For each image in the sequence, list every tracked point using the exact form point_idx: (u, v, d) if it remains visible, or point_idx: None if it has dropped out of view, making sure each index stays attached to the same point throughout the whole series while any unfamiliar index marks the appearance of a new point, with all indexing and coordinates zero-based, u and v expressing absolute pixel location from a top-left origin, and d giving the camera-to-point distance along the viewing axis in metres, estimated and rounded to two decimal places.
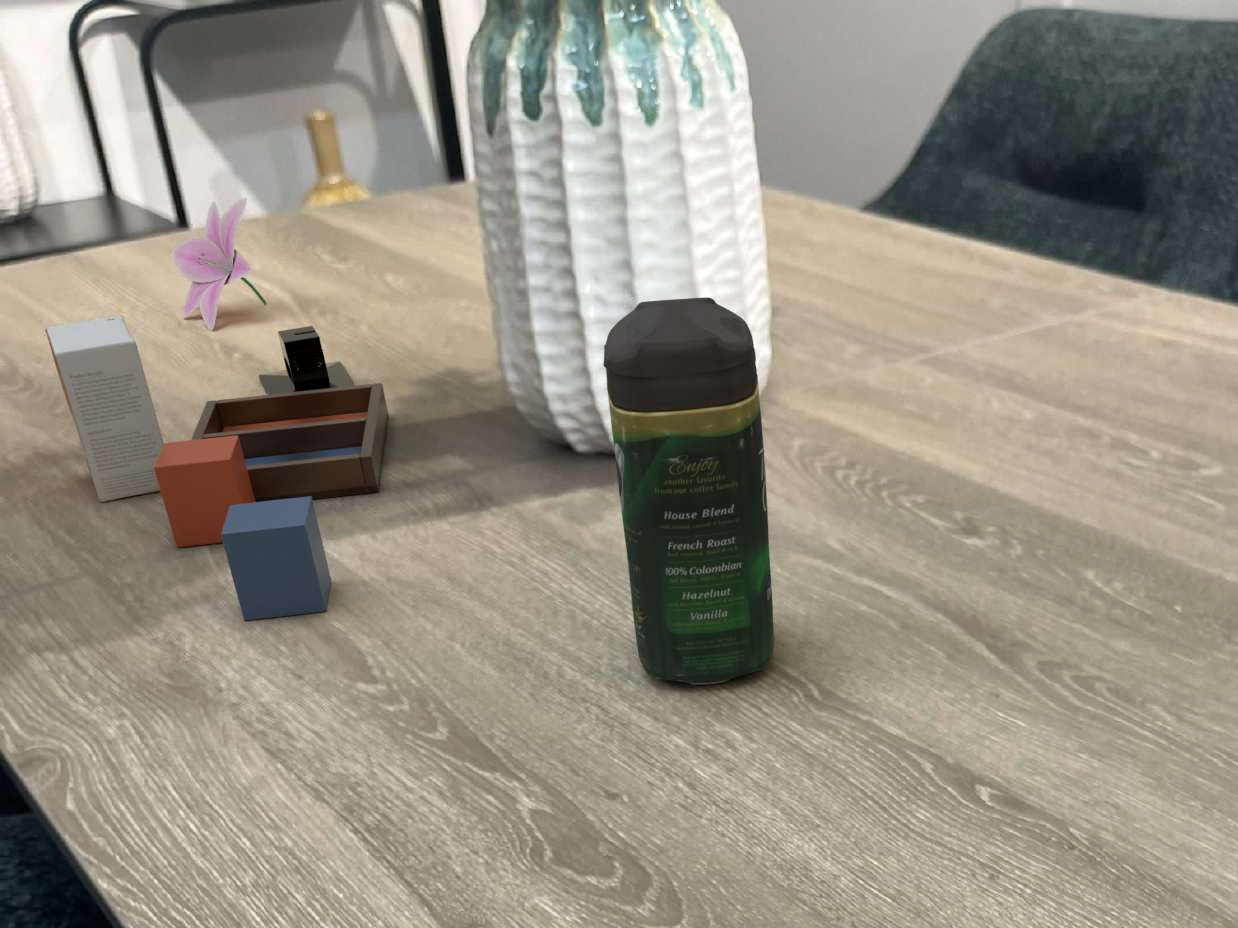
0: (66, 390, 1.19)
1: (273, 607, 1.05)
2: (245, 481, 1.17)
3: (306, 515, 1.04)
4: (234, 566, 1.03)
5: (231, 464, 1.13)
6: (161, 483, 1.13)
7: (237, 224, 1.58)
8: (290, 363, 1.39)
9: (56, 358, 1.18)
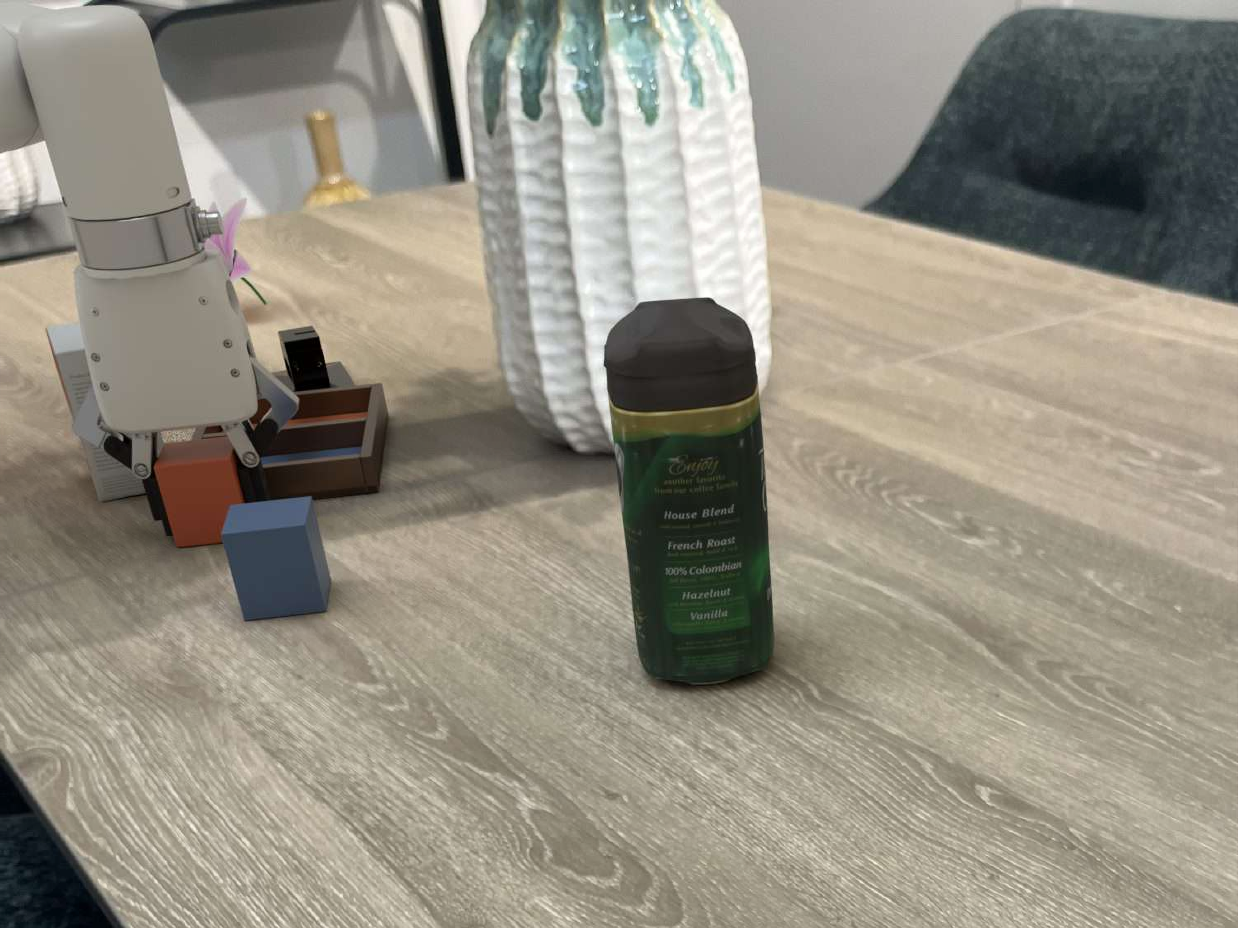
0: (66, 390, 1.19)
1: (273, 607, 1.05)
2: None
3: (306, 515, 1.04)
4: (234, 566, 1.03)
5: (231, 464, 1.13)
6: (161, 483, 1.13)
7: (237, 224, 1.58)
8: (290, 363, 1.39)
9: (56, 358, 1.18)
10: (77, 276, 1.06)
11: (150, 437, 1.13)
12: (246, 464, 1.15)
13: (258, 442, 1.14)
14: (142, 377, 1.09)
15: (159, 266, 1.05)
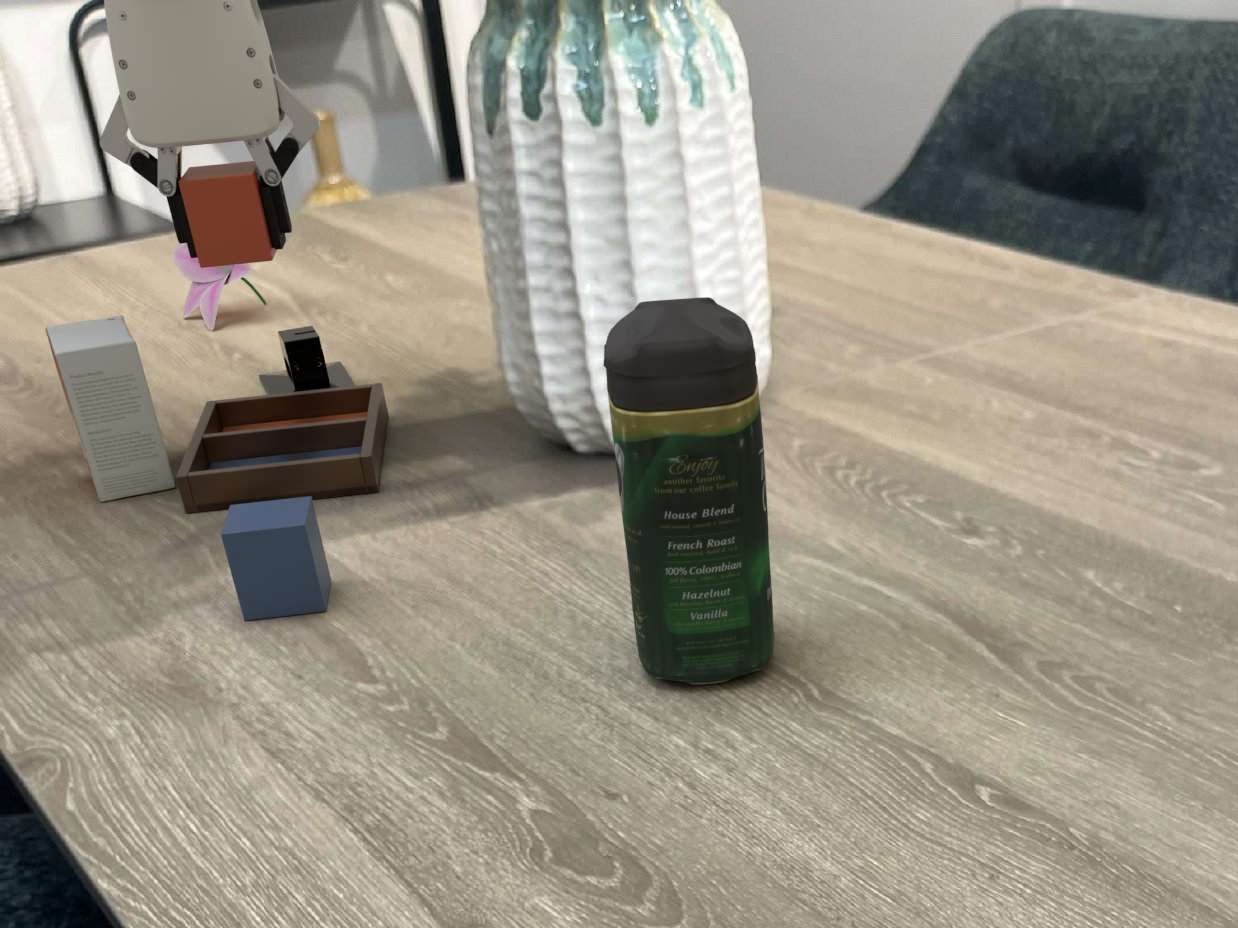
0: (66, 390, 1.19)
1: (273, 607, 1.05)
2: None
3: (306, 515, 1.04)
4: (234, 566, 1.03)
5: (253, 180, 1.17)
6: (185, 198, 1.17)
7: None
8: (290, 363, 1.39)
9: (56, 358, 1.18)
10: None
11: (175, 152, 1.16)
12: (268, 183, 1.18)
13: (279, 161, 1.18)
14: (168, 86, 1.13)
15: None
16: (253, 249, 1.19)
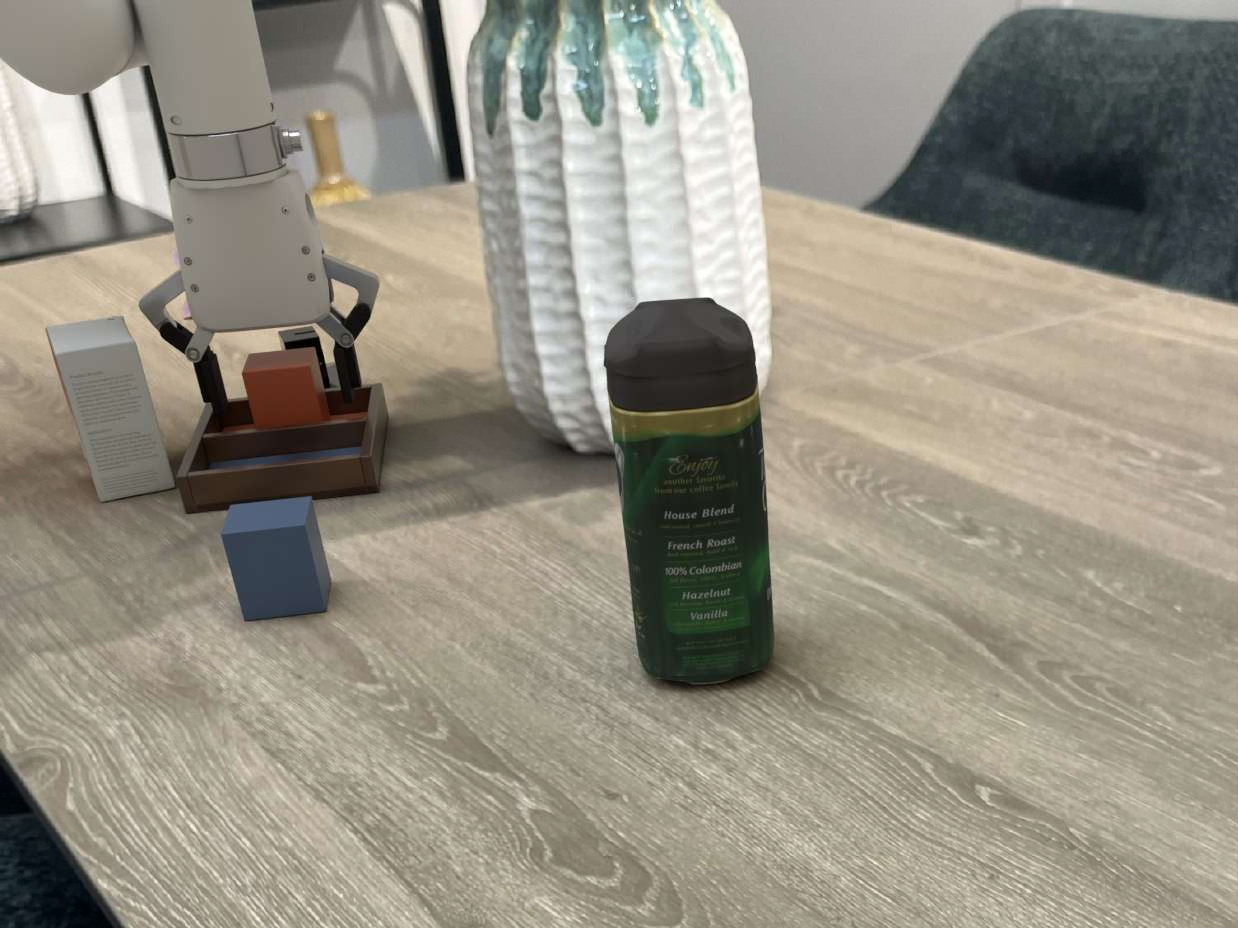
0: (66, 390, 1.19)
1: (273, 607, 1.05)
2: (321, 388, 1.31)
3: (306, 515, 1.04)
4: (234, 566, 1.03)
5: (310, 370, 1.27)
6: (247, 387, 1.27)
7: None
8: None
9: (56, 358, 1.18)
10: (174, 187, 1.19)
11: (214, 331, 1.25)
12: (342, 345, 1.27)
13: (353, 324, 1.27)
14: (229, 280, 1.22)
15: (248, 177, 1.18)
16: None
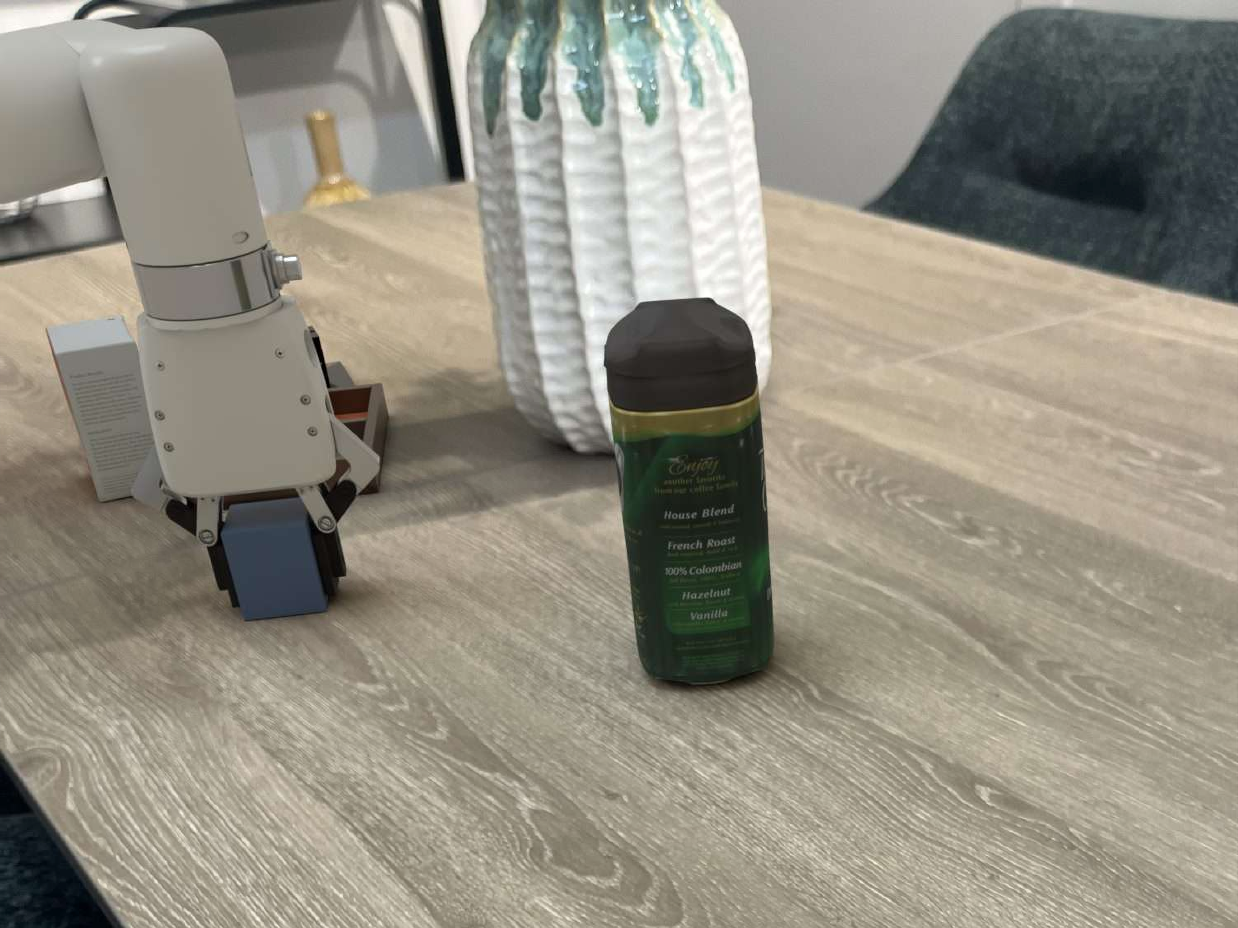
0: (66, 390, 1.19)
1: (273, 607, 1.05)
2: None
3: (306, 515, 1.04)
4: (234, 566, 1.03)
5: None
6: None
7: None
8: None
9: (56, 358, 1.18)
10: (141, 327, 0.96)
11: (217, 501, 1.02)
12: (322, 530, 1.04)
13: (335, 505, 1.04)
14: (210, 437, 0.99)
15: (233, 316, 0.94)
16: None
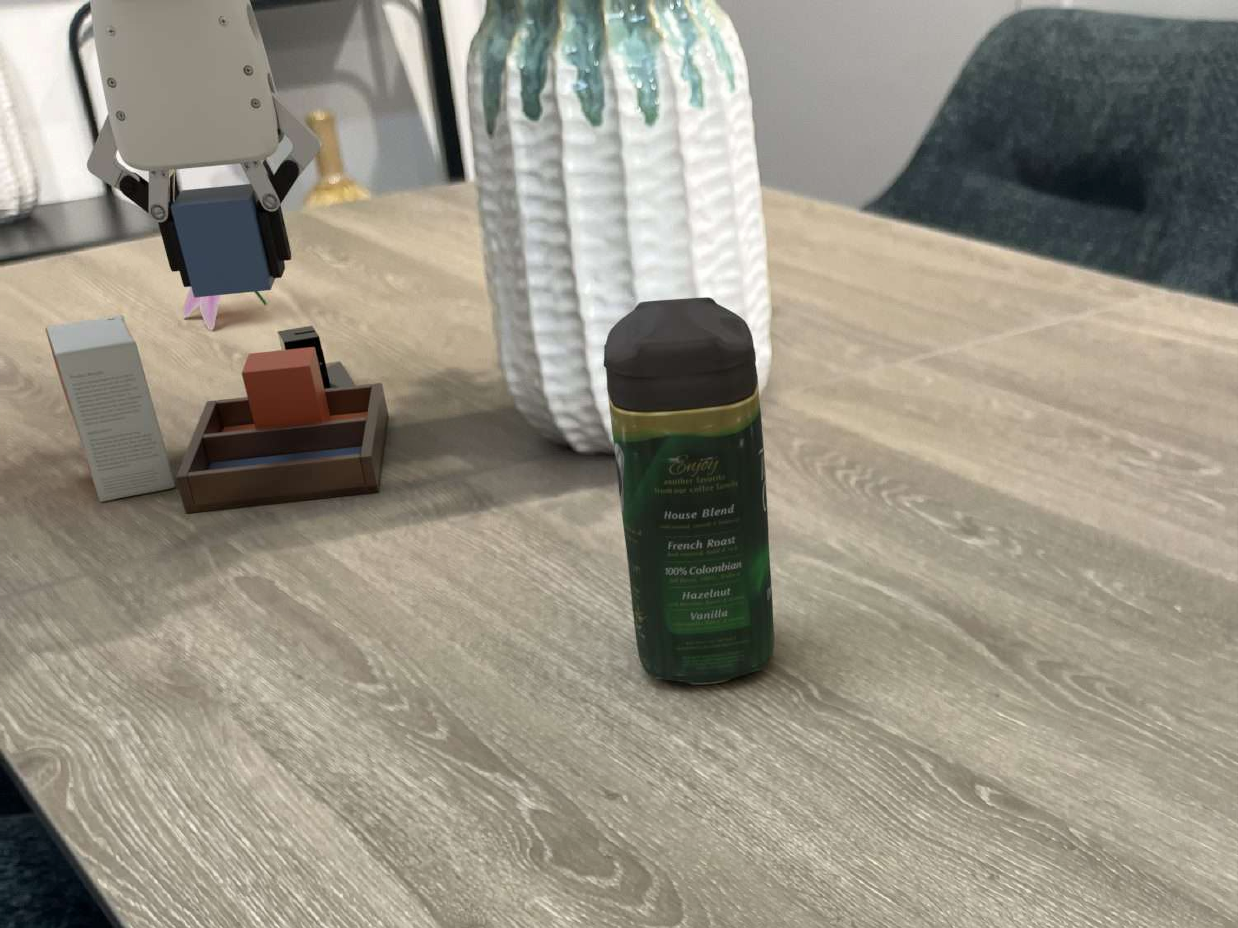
0: (66, 390, 1.19)
1: (221, 283, 1.12)
2: (321, 388, 1.31)
3: (251, 193, 1.11)
4: (184, 240, 1.10)
5: (310, 370, 1.27)
6: (247, 387, 1.27)
7: None
8: None
9: (56, 358, 1.18)
10: None
11: (167, 175, 1.09)
12: (266, 208, 1.11)
13: (278, 184, 1.11)
14: (159, 105, 1.06)
15: None
16: None
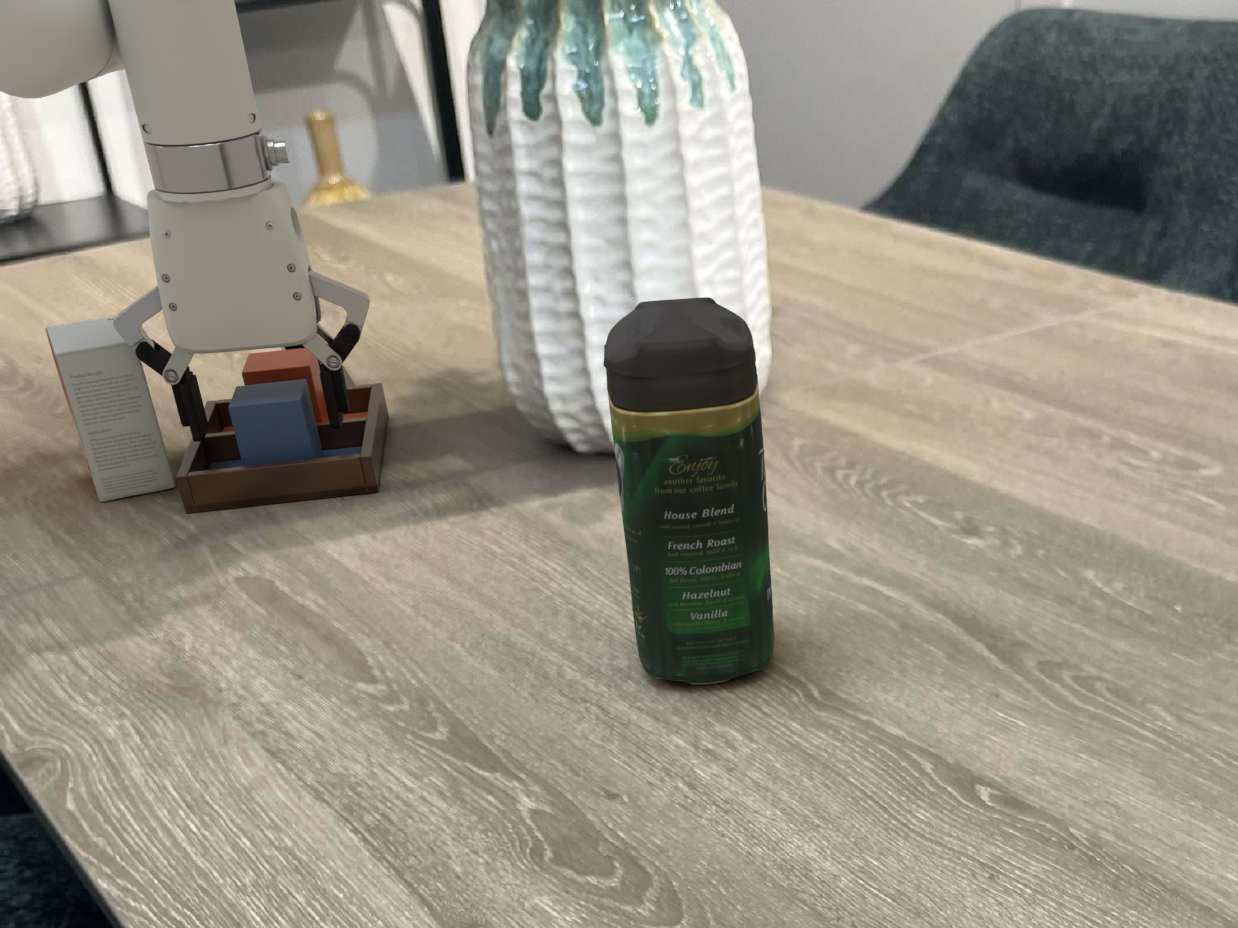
0: (66, 390, 1.19)
1: None
2: (321, 388, 1.31)
3: (301, 393, 1.21)
4: (240, 436, 1.21)
5: (310, 370, 1.27)
6: None
7: None
8: None
9: (56, 358, 1.18)
10: (151, 199, 1.12)
11: (193, 352, 1.18)
12: (329, 367, 1.20)
13: (341, 346, 1.20)
14: (209, 298, 1.15)
15: (230, 191, 1.11)
16: None
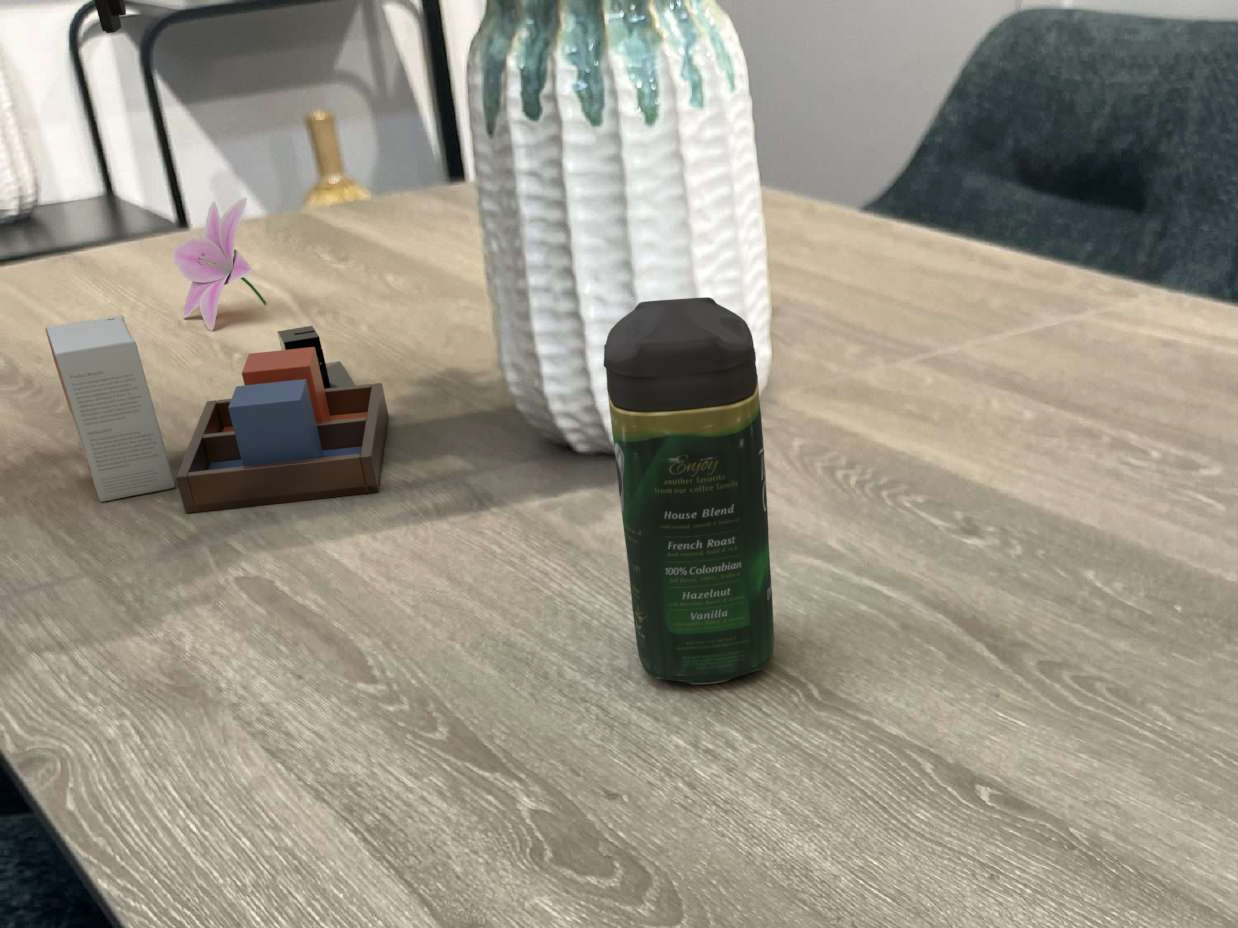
0: (66, 390, 1.19)
1: None
2: (321, 388, 1.31)
3: (301, 393, 1.21)
4: (240, 436, 1.21)
5: (310, 370, 1.27)
6: None
7: (237, 223, 1.58)
8: None
9: (56, 358, 1.18)
10: None
11: None
12: None
13: None
14: None
15: None
16: None
